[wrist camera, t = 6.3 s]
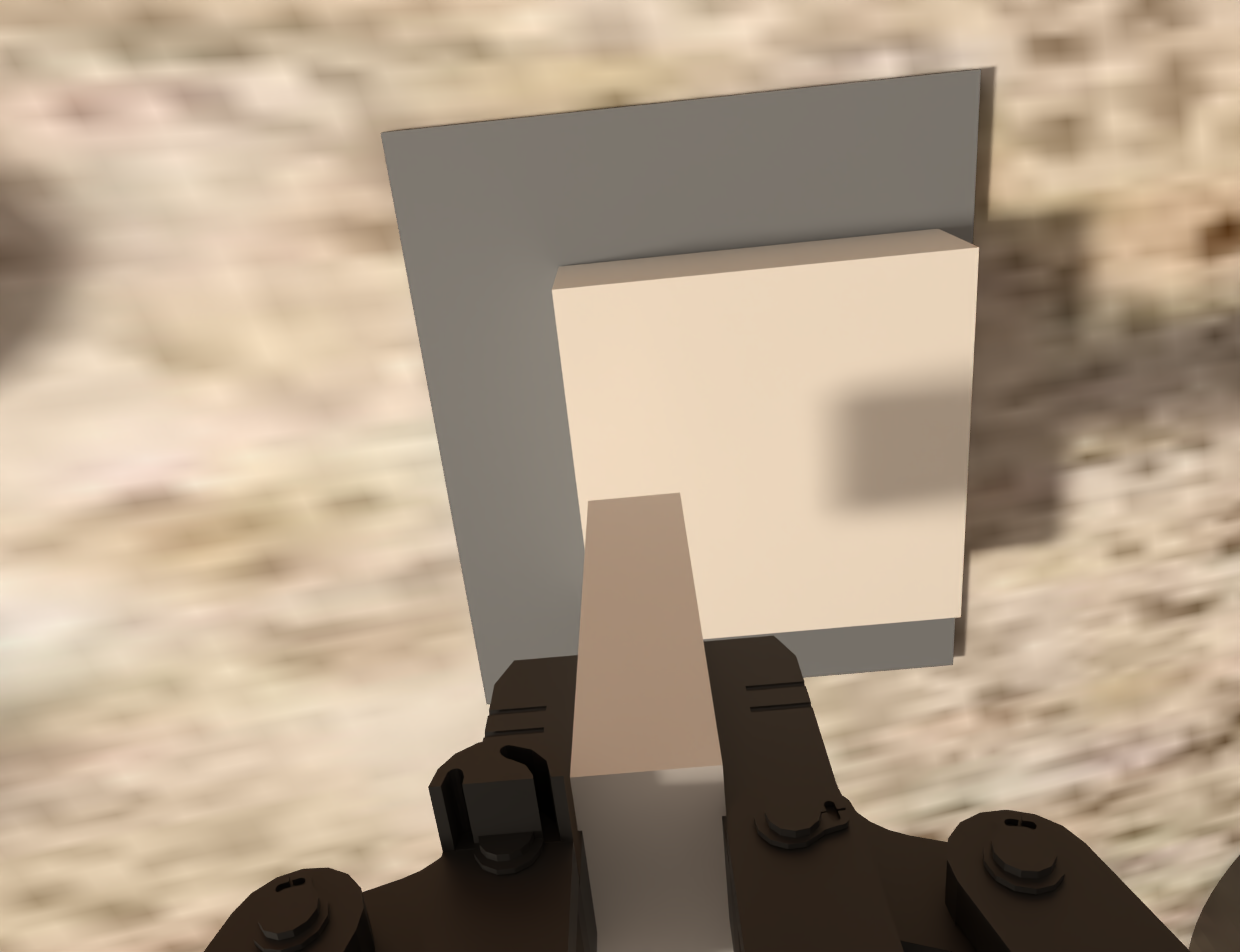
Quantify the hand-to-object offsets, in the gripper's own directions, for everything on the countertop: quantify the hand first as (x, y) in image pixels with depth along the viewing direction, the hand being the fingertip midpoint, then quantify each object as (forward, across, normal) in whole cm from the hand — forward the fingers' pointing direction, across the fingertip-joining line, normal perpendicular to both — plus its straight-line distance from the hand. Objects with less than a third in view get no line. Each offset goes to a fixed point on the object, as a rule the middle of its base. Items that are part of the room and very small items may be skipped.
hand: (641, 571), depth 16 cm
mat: (+7, +2, 0) cm, 7 cm away
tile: (+5, -1, 0) cm, 5 cm away
